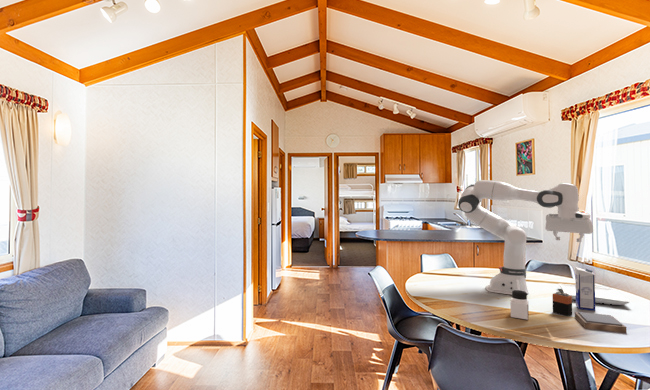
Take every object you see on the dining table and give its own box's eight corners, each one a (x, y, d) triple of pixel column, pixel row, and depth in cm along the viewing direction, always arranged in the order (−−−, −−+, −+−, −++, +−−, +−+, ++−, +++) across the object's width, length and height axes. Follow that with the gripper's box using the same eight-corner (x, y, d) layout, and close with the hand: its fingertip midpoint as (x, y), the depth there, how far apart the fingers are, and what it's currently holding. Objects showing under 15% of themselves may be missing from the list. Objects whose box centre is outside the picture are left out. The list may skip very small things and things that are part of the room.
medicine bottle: (528, 320, 153) (528, 293, 153) (510, 317, 157) (510, 291, 157) (528, 315, 159) (528, 290, 159) (511, 312, 163) (511, 288, 163)
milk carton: (575, 305, 174) (575, 266, 174) (591, 306, 171) (591, 267, 171) (578, 309, 168) (578, 269, 168) (595, 311, 164) (594, 270, 165)
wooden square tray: (585, 328, 143) (585, 321, 143) (574, 317, 156) (574, 310, 156) (626, 333, 138) (626, 325, 138) (612, 321, 151) (612, 314, 151)
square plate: (565, 300, 182) (565, 293, 182) (557, 288, 206) (557, 282, 206) (630, 308, 169) (630, 300, 169) (614, 294, 194) (613, 287, 194)
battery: (568, 316, 157) (567, 295, 157) (552, 312, 163) (552, 291, 163) (572, 314, 159) (572, 293, 159) (556, 310, 165) (556, 290, 165)
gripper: (543, 213, 179) (543, 239, 179) (589, 215, 162) (589, 243, 162) (548, 213, 183) (548, 238, 183) (594, 215, 166) (594, 242, 166)
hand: (568, 241), depth 172 cm, fingers open, 8 cm apart
